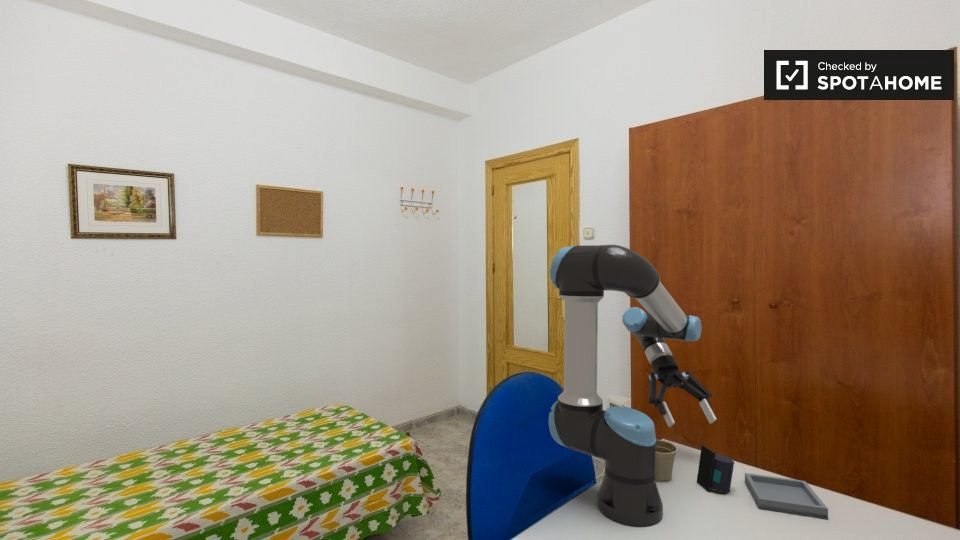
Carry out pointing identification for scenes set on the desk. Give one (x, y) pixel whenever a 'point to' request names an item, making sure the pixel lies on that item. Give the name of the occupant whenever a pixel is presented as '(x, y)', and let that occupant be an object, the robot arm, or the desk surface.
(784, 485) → the tray
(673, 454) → the flower pot
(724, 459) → the dark cylinder with plate
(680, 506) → the desk surface
